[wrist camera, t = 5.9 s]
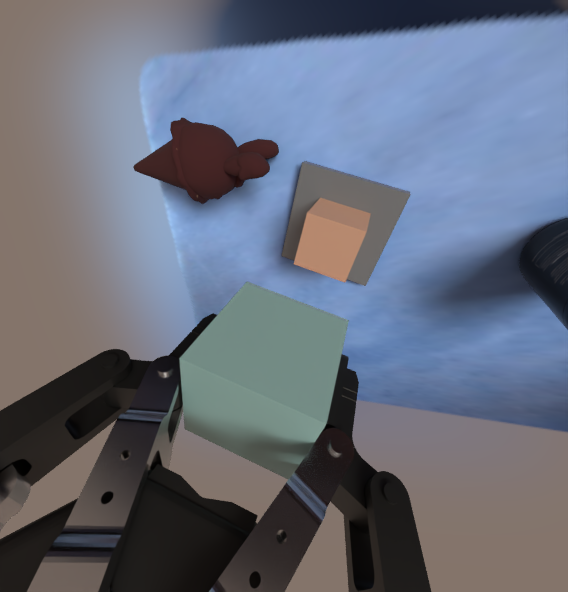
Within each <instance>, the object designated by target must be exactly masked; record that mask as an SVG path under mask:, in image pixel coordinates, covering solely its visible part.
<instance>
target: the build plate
mask: <svg viewBox="0 0 568 592" xmlns="http://www.w3.org/2000/svg"><path fill="white" fill-rule="evenodd" d="M409 197H410V192H408V191H405V190H401V189H398V188H395V187H391V186H388V185H384V184H381V183H378V182H374V181H371V180H368V179H364V178H361V177H357V176H354V175H351V174H347V173H344V172H341V171H337V170H334V169H330V168H327V167H324V166H320V165H317V164H314V163H310V162H307V161H304V162H302V166H301V171H300V175H299V180H298V184H297V189H296V193H295V198H294V202H293V207H292V211H291V216H290V220H289V225H288V229H287V234H286V238H285V243H284V247H283V252H282V256H283V257H286V258H288V259H291V260H294V261H295V257H296V253H297V250H298V246H299V242H300V238H301V234H302V230H303V227H304V223H305V219H306V215H307V212H308V211H309V210H310V209H311V208H312V206H313V205H314V204H315V203H316V202H317V201H318V200H319V199H320V198H323V199H326V200H329V201H333V202H336V203H339V204H342V205H345V206H348V207H352V208H355V209H358V210H361V211H364V212H368V213H371V215H370V219H369V224H368V228H367V232H366V235H365V237H364V239H363V242H362V244H361V246H360V249H359V251H358V253H357V256H356V258H355V260H354V263H353V265H352V268H351V270H350V272H349V275H348V277H347V280H350V281H353V282H356V283H359V284H361V285H364V286H366V284H367V282H368V280H369V278H370V276H371V274H372V272H373V270H374V268H375V266H376V264H377V262H378V260H379V258H380V256H381V254H382V251H383V249H384V247H385V245H386V243H387V241H388V239H389V237H390V235H391V233H392V231H393V229H394V227H395V225H396V223H397V221H398V219H399V217H400V215H401V213H402V211H403V209H404V207H405V205H406V203H407V201H408V199H409Z"/></svg>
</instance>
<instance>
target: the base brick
mask: <svg viewBox="0 0 568 592" xmlns="http://www.w3.org/2000/svg"><path fill="white" fill-rule="evenodd" d="M370 215H371V213H368V212H364V211H361V210H358V209H355V208H352V207H348V206H345V205H342V204H339V203H336V202H333V201H329V200H326V199H323V198H320V199H319V200H318V201H317V202H316V203H315V204H314V205H313V206H312V208H311V209H310V210H309V211H308V212H307V215H306V219H305V223H304V227H303V230H302V234H301V238H300V242H299V246H298V250H297V253H296V257H295V261H294V264H295V265H298V266H300V267H303V268H306V269H309V270H311V271H314V272H317V273H320V274H323V275H325V276H328V277H331V278H334V279H337V280H339V281H342V282H346V279H347V277H348V275H349V272H350V270H351V268H352V265H353V263H354V260H355V258H356V256H357V253H358V251H359V249H360V246H361V244H362V242H363V239H364V237H365V235H366V232H367V228H368V224H369V219H370Z"/></svg>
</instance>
